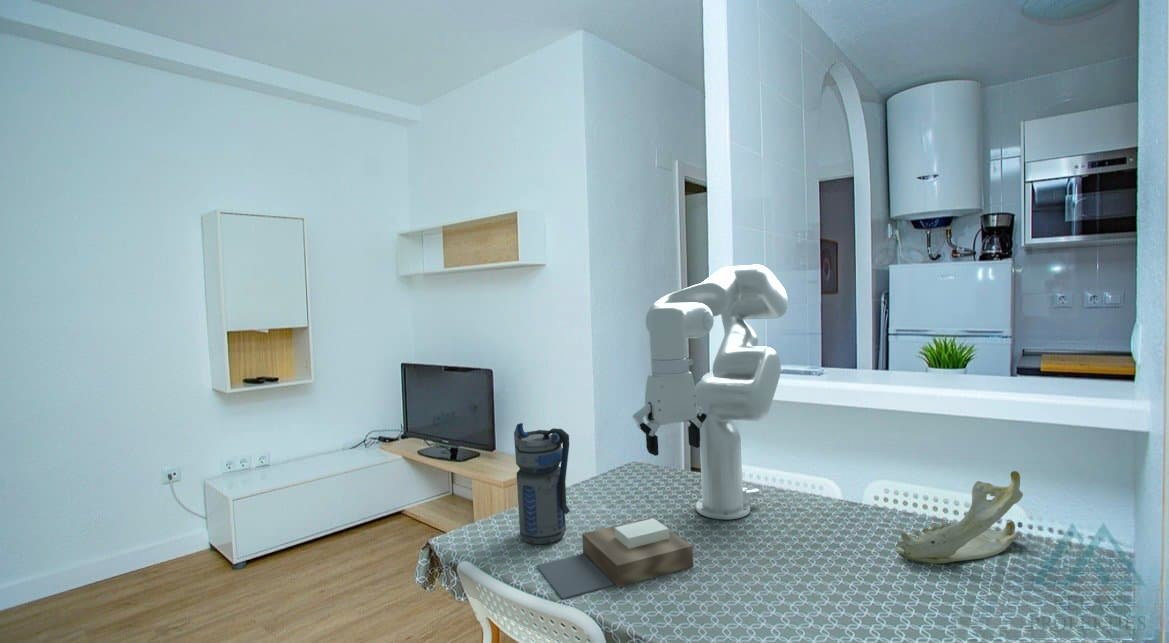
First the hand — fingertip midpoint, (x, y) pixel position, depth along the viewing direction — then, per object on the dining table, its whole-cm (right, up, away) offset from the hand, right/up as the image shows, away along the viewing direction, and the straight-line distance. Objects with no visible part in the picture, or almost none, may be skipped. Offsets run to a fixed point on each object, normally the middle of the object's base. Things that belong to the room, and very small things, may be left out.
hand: (674, 450), depth 118 cm
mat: (-20, -22, -9) cm, 31 cm away
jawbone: (+54, -18, -6) cm, 57 cm away
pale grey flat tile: (-7, -17, -3) cm, 18 cm away
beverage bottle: (-27, -22, +9) cm, 35 cm away
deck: (-8, -21, -3) cm, 23 cm away
